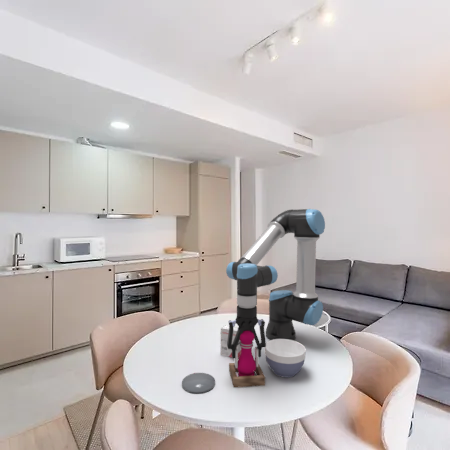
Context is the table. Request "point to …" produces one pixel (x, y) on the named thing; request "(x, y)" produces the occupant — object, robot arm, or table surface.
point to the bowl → (285, 356)
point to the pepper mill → (246, 355)
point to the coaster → (198, 383)
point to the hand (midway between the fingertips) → (246, 365)
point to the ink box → (224, 339)
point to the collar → (246, 377)
